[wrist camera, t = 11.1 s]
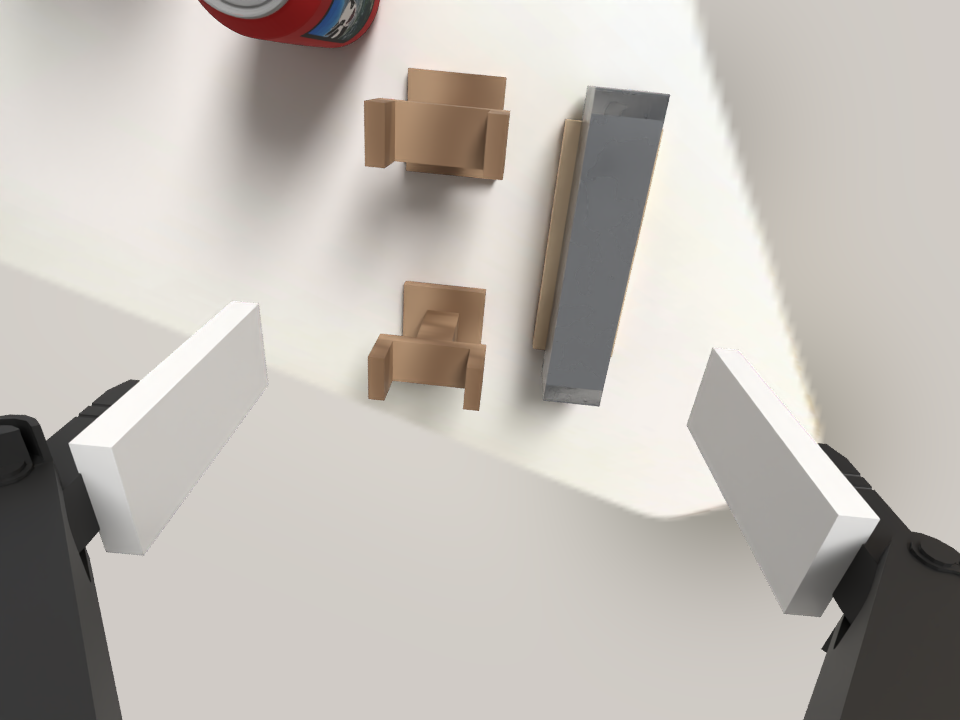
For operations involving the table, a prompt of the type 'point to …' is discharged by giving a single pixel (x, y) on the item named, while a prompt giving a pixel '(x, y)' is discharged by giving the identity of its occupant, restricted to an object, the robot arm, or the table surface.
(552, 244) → the light wooden board
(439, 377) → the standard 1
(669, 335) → the table surface
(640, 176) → the rail
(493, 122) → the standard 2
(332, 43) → the beverage can
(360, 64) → the table surface
